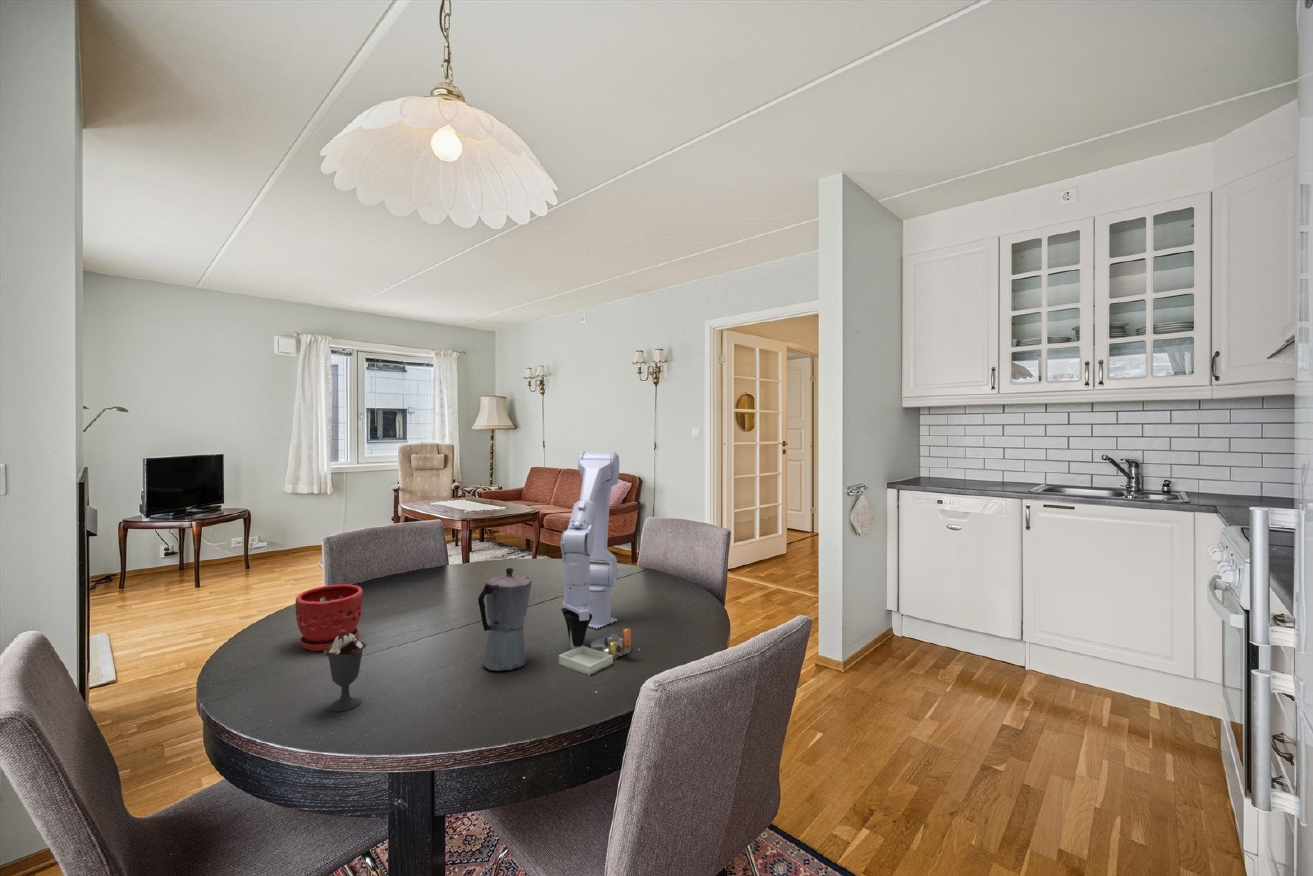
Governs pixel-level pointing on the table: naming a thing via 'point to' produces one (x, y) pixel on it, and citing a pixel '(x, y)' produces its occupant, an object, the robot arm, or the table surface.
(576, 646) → the clear glass cylinder
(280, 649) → the table surface
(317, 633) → the plant pot
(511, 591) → the moka pot
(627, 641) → the crank
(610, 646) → the crank base
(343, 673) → the sundae
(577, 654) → the tray
